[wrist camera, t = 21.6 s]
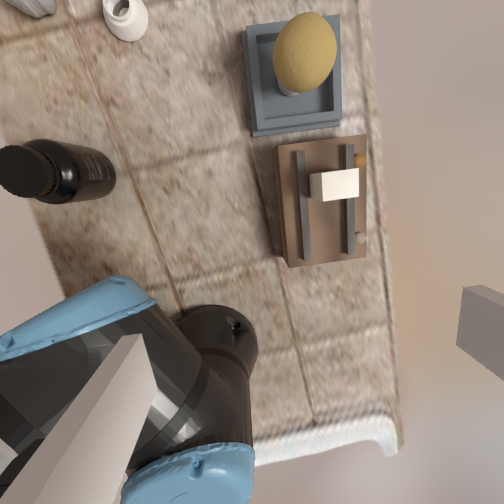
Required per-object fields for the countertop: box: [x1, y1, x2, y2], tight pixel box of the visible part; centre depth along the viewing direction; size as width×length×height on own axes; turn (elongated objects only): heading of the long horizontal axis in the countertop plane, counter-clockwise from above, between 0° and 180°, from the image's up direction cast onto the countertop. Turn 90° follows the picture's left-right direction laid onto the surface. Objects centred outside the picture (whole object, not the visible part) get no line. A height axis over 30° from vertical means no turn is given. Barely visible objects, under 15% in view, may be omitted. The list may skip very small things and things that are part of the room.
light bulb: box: [273, 12, 337, 96], centre depth 27 cm, size 6×6×10 cm
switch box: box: [273, 134, 366, 268], centre depth 34 cm, size 11×16×6 cm
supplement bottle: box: [0, 139, 116, 204], centre depth 29 cm, size 7×7×12 cm
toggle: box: [309, 168, 359, 201], centre depth 29 cm, size 4×3×5 cm
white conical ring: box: [103, 0, 148, 42], centre depth 29 cm, size 5×3×5 cm
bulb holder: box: [241, 14, 342, 138], centre depth 31 cm, size 12×12×3 cm
